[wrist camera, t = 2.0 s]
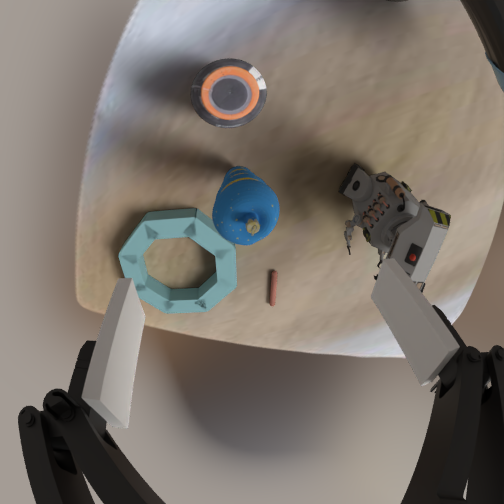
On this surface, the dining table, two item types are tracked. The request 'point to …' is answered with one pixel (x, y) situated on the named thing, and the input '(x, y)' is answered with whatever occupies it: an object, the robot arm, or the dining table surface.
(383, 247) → the figurine
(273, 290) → the reddish pink rod
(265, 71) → the dining table surface
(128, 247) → the teal octagonal ring
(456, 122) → the dining table surface
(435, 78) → the dining table surface
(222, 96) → the pill bottle
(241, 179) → the ornament
